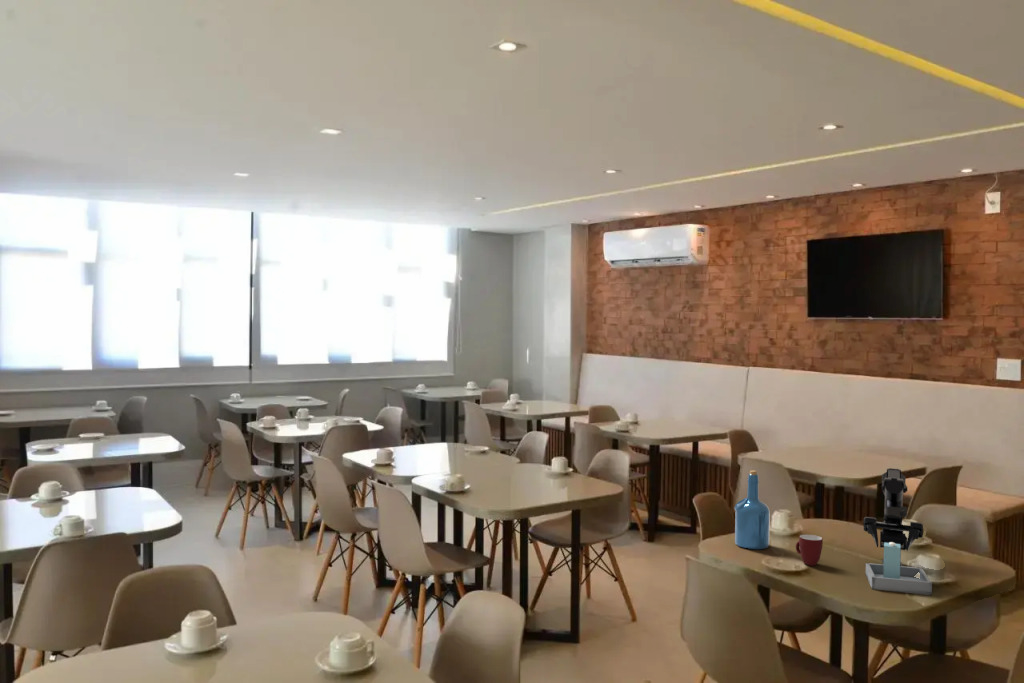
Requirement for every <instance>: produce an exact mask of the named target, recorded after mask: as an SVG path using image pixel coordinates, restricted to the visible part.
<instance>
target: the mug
mask: <svg viewBox="0 0 1024 683" xmlns="http://www.w3.org/2000/svg"><path fill="white" fill-rule="evenodd" d="M823 540H824V539H823V537H821V536H818V535H815V534H800V535H799V537H798V541H797V542H796V543H795V550H796V552H797V553H798V554H799V555H800V556H801V559H802V561H803V564H805V563H806V564H808V565H807V566H809V567H810V566H811V567H814V566H817V564H818V562H819V561H820V559H821V555H822V552H823V551H822V550H823V544H824V542H823ZM806 564H805V565H806Z"/></svg>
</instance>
